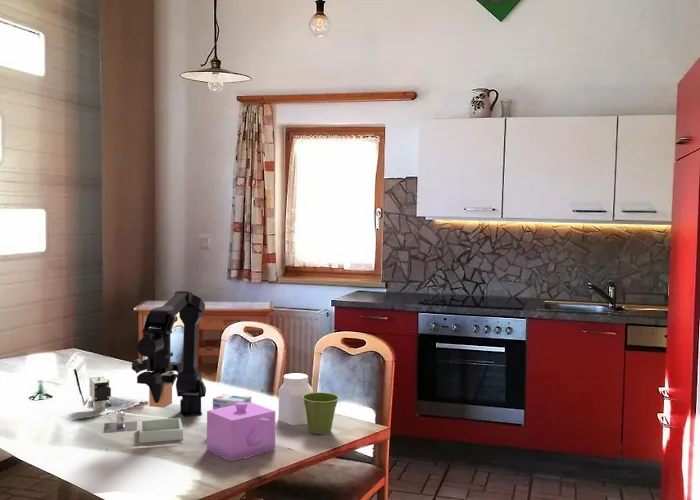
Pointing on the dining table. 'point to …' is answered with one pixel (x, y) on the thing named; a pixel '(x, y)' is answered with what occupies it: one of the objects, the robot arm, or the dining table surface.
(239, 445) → the lilac knobbed box
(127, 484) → the dining table surface
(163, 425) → the tray
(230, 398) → the light bulb box
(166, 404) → the terracotta orange cube
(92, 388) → the pneumatic valve
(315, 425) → the plant pot
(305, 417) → the jar
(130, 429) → the stud plate
